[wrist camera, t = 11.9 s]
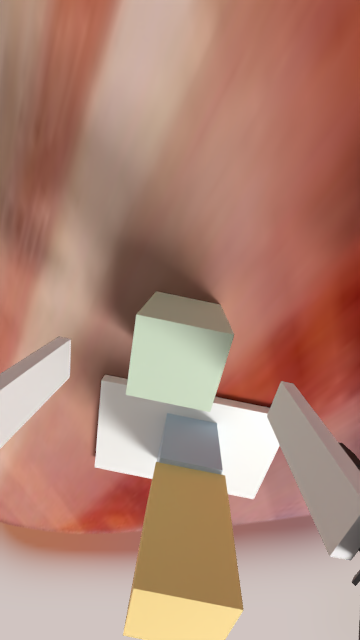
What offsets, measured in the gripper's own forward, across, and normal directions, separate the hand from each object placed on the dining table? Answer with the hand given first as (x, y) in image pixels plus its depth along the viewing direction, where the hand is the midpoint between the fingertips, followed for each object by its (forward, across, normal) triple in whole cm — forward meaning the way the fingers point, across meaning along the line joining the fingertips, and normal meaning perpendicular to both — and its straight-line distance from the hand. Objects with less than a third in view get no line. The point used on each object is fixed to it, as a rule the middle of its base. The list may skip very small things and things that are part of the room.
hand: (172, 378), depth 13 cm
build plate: (+8, +3, -12) cm, 15 cm away
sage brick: (+8, 0, +1) cm, 8 cm away
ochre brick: (+2, +3, -13) cm, 13 cm away
